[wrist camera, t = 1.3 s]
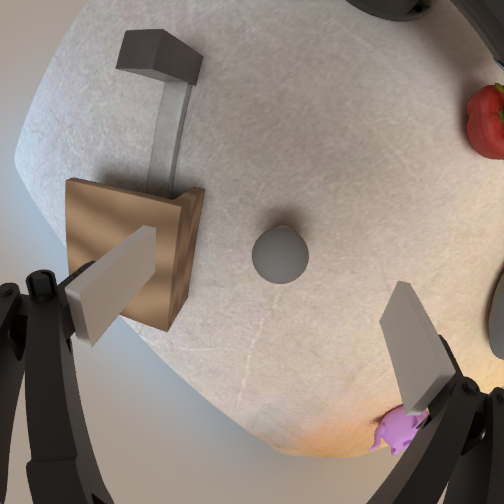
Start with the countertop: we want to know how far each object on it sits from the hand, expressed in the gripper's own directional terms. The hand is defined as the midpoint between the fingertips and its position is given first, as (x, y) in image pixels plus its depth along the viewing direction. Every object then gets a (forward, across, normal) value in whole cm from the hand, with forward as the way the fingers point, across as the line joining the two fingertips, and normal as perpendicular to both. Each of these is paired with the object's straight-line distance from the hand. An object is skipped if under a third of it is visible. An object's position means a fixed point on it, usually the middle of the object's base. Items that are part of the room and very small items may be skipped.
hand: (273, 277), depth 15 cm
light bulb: (+22, +1, -6) cm, 23 cm away
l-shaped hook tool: (+22, -16, +4) cm, 27 cm away
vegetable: (+23, +24, +17) cm, 37 cm away
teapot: (+22, +36, -41) cm, 59 cm away
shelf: (+22, -19, -10) cm, 31 cm away
